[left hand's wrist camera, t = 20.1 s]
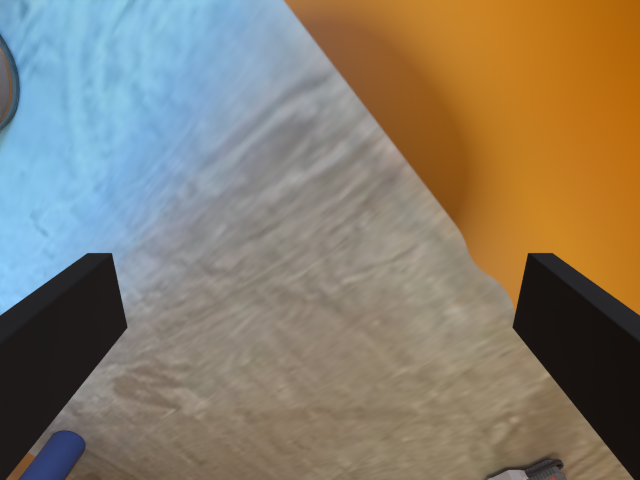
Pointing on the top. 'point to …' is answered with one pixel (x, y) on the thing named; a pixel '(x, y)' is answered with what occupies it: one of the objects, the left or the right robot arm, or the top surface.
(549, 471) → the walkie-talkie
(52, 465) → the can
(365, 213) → the top surface
